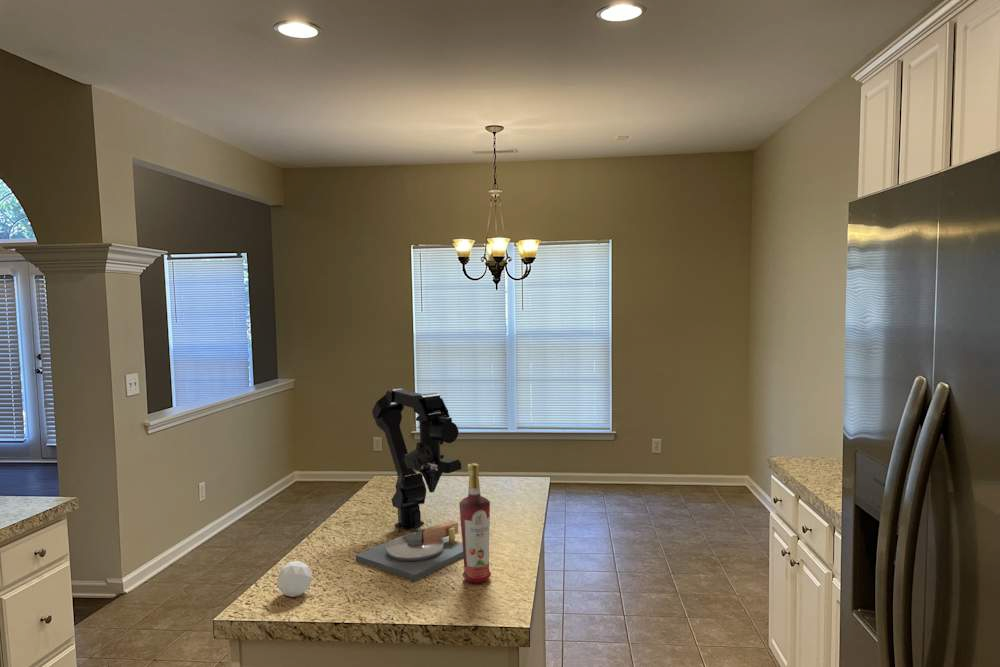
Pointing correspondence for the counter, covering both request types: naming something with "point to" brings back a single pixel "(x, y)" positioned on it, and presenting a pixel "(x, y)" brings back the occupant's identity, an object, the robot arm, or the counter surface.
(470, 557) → the liquor
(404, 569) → the post plate
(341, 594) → the counter surface
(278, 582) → the ball
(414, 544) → the grey disc with handle
